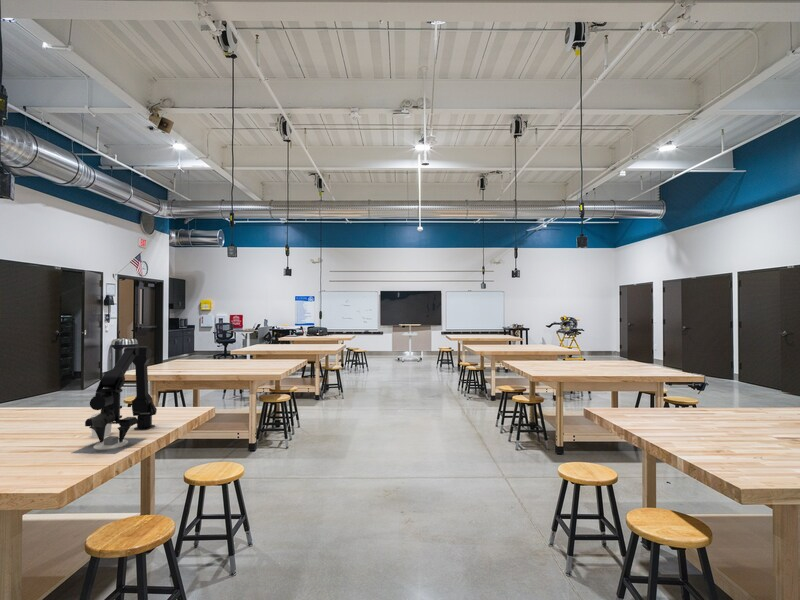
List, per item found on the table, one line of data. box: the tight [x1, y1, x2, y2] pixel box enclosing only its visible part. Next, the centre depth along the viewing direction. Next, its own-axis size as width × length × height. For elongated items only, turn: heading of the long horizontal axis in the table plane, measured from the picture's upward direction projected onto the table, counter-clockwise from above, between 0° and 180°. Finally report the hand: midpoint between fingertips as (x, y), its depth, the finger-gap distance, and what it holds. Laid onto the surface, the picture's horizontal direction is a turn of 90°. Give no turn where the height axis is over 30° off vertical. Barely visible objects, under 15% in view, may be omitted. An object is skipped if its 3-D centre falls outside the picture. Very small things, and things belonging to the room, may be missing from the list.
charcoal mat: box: [71, 437, 148, 455], centre depth 177 cm, size 20×18×1 cm
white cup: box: [90, 412, 113, 439], centre depth 190 cm, size 8×8×10 cm
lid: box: [93, 435, 128, 450], centre depth 177 cm, size 12×12×3 cm
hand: (111, 442), depth 177 cm, fingers open, 8 cm apart
